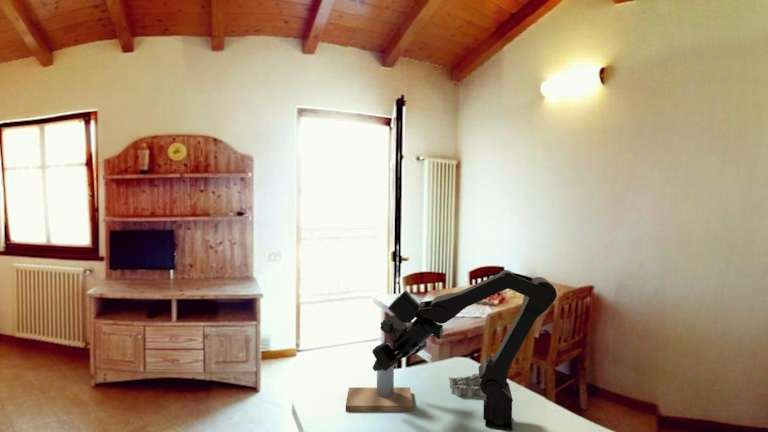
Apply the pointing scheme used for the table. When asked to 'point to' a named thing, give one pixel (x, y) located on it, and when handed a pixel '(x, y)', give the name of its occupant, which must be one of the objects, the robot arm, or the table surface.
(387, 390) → the slate-blue bottle
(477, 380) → the egg carton
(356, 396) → the walnut board
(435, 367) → the table surface
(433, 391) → the table surface
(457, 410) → the table surface
